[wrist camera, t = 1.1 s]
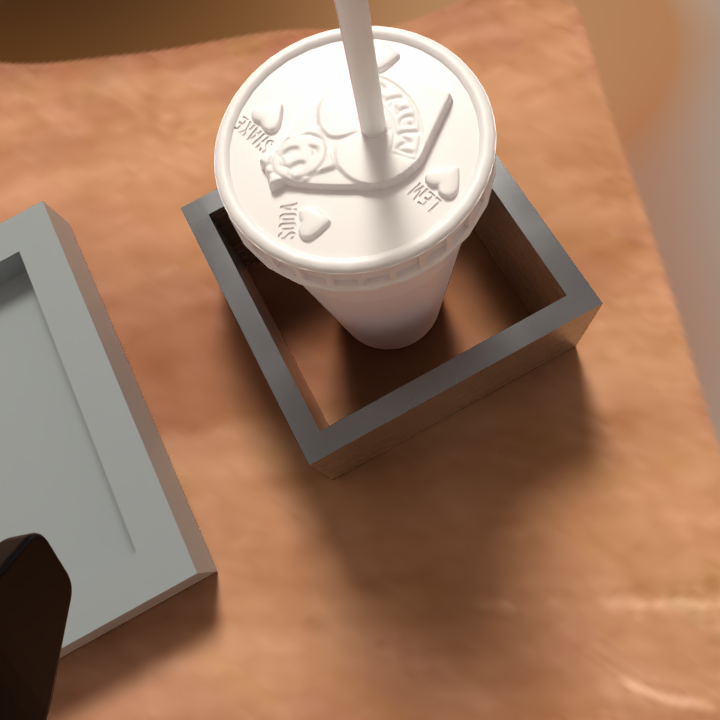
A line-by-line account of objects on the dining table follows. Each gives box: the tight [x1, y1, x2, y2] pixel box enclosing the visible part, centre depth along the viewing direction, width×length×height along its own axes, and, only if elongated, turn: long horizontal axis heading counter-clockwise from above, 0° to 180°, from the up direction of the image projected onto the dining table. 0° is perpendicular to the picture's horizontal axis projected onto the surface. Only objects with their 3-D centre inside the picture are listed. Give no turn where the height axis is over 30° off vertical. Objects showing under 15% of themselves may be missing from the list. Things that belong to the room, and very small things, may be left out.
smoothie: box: [214, 0, 496, 350], centre depth 17 cm, size 6×6×14 cm
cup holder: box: [181, 154, 603, 480], centre depth 22 cm, size 9×9×4 cm
